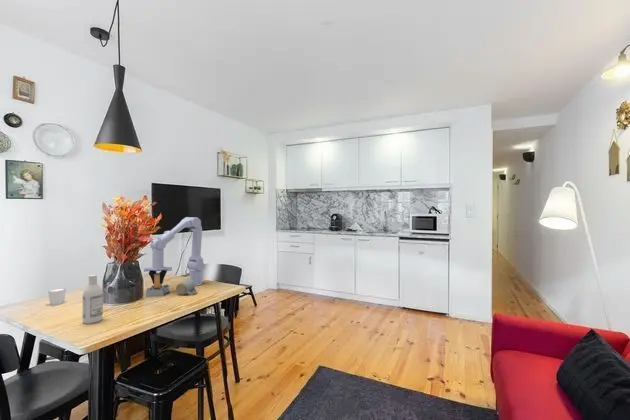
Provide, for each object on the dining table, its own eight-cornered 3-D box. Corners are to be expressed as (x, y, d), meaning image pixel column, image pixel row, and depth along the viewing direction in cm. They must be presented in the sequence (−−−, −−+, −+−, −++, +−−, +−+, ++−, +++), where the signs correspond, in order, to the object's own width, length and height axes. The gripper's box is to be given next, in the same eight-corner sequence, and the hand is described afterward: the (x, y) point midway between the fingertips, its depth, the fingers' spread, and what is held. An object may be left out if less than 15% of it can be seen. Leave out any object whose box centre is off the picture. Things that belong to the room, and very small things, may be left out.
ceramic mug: (174, 295, 165) (175, 281, 165) (183, 291, 173) (184, 278, 173) (191, 296, 163) (191, 283, 163) (199, 292, 171) (200, 279, 171)
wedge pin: (156, 286, 170) (156, 272, 170) (162, 286, 170) (162, 272, 170) (153, 288, 166) (153, 274, 166) (160, 288, 167) (160, 274, 167)
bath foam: (106, 317, 131) (106, 273, 131) (96, 323, 124) (96, 276, 124) (89, 318, 130) (89, 273, 130) (78, 324, 123) (78, 277, 123)
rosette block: (152, 291, 172) (152, 285, 172) (168, 291, 173) (169, 284, 173) (146, 296, 163) (146, 289, 163) (163, 295, 164) (163, 288, 164)
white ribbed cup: (49, 306, 145) (50, 292, 145) (46, 303, 150) (46, 290, 150) (67, 303, 151) (67, 289, 151) (63, 300, 155) (64, 287, 155)
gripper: (141, 261, 163) (141, 285, 163) (168, 261, 165) (168, 284, 165) (147, 259, 170) (146, 282, 170) (173, 259, 172) (173, 281, 172)
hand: (157, 283), depth 168 cm, fingers closed on wedge pin, 3 cm apart
